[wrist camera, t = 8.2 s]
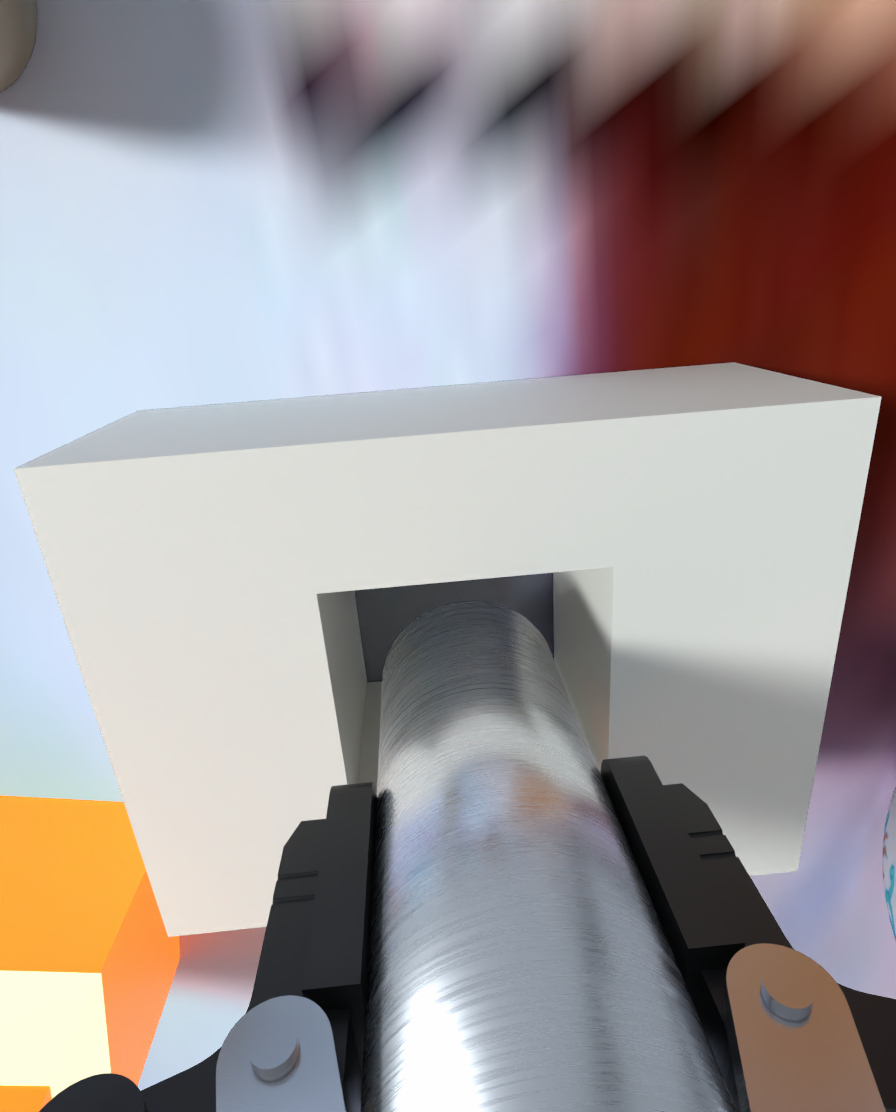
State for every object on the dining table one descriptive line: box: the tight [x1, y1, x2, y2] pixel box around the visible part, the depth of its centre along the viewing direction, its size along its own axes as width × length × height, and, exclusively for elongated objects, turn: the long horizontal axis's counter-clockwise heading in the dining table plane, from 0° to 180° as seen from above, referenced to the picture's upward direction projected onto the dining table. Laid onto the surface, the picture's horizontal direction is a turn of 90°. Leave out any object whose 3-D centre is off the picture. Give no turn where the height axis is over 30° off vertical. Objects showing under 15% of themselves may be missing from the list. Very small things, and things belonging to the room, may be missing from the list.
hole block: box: [14, 362, 881, 937], centre depth 17 cm, size 16×12×6 cm
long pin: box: [360, 601, 737, 1112], centre depth 11 cm, size 4×4×10 cm
